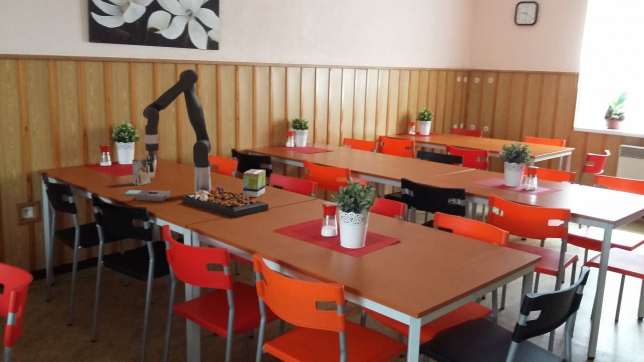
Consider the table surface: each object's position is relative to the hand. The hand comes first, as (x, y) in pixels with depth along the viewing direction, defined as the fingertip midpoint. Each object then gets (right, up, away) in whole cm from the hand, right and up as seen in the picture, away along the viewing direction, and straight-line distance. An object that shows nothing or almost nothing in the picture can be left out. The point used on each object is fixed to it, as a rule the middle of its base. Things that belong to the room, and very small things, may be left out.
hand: (152, 171), depth 332 cm
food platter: (+43, -21, -11) cm, 49 cm away
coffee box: (-20, -8, +41) cm, 46 cm away
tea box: (+56, -14, +22) cm, 62 cm away
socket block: (-1, -16, +3) cm, 16 cm away
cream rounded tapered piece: (-1, -3, +1) cm, 3 cm away
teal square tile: (-15, -13, +13) cm, 24 cm away
